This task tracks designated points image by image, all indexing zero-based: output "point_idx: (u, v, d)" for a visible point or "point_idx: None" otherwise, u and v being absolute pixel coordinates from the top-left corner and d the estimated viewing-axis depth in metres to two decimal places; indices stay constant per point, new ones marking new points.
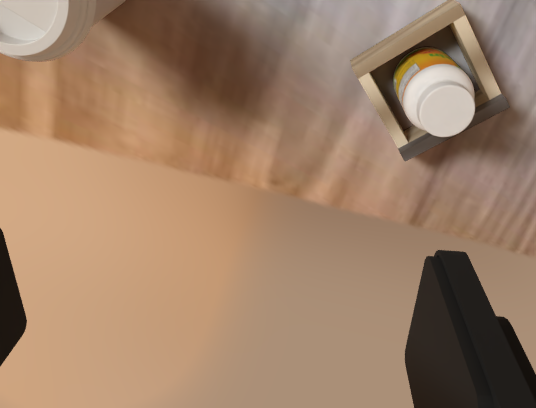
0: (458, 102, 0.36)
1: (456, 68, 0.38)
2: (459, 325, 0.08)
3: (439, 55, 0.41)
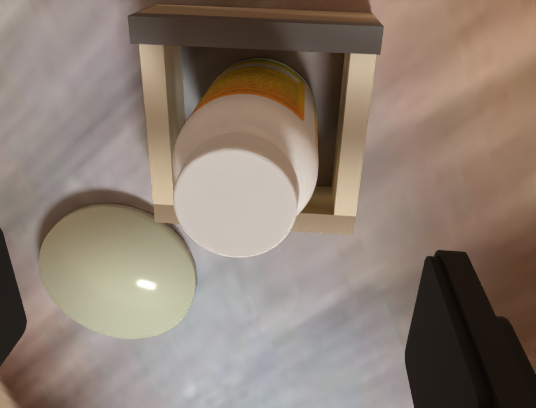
0: (204, 210, 0.16)
1: None
2: (459, 325, 0.08)
3: None
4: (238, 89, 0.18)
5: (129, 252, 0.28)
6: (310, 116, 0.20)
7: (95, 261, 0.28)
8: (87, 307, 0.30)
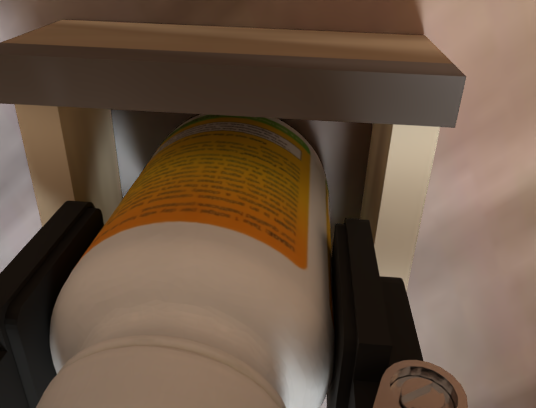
0: None
1: None
2: (346, 279, 0.09)
3: None
4: (176, 204, 0.09)
5: None
6: (319, 234, 0.11)
7: None
8: None
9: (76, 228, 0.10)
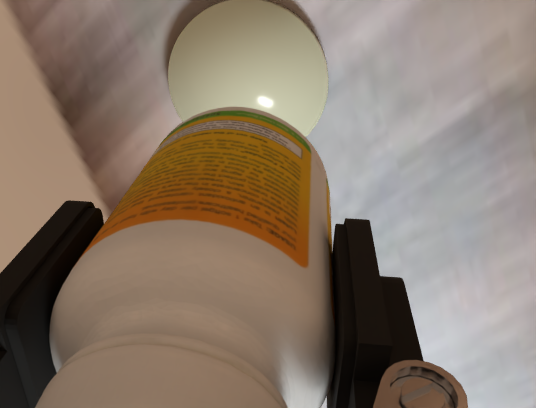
0: None
1: None
2: (346, 279, 0.09)
3: None
4: (177, 202, 0.09)
5: (264, 51, 0.27)
6: (320, 233, 0.11)
7: (227, 64, 0.27)
8: None
9: (76, 228, 0.10)
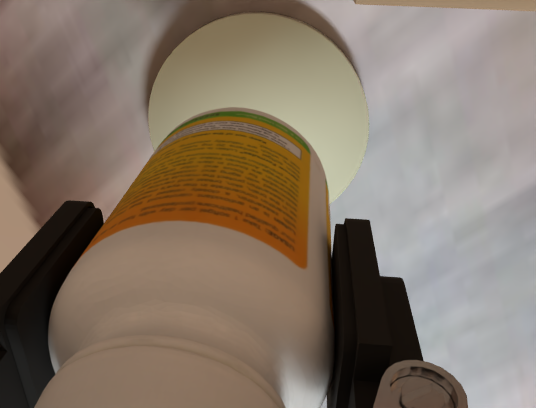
0: None
1: None
2: (346, 279, 0.09)
3: None
4: (176, 203, 0.09)
5: (282, 86, 0.19)
6: (319, 233, 0.11)
7: (230, 103, 0.20)
8: None
9: (76, 228, 0.10)
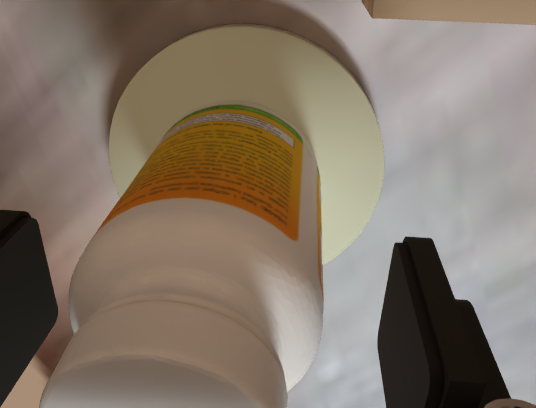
0: None
1: None
2: (419, 305, 0.09)
3: None
4: (181, 184, 0.10)
5: None
6: (310, 213, 0.12)
7: None
8: None
9: (4, 240, 0.10)
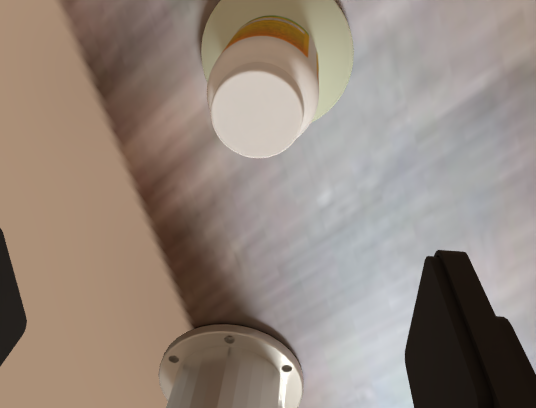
0: (233, 120, 0.21)
1: None
2: (459, 325, 0.08)
3: None
4: (257, 33, 0.23)
5: None
6: (313, 57, 0.25)
7: None
8: None
9: None
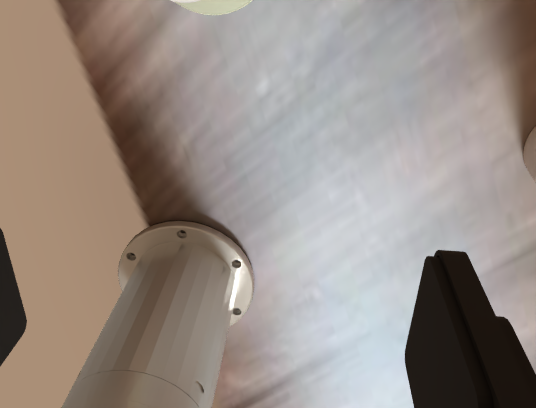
0: None
1: None
2: (459, 325, 0.08)
3: None
4: None
5: None
6: None
7: None
8: None
9: None
